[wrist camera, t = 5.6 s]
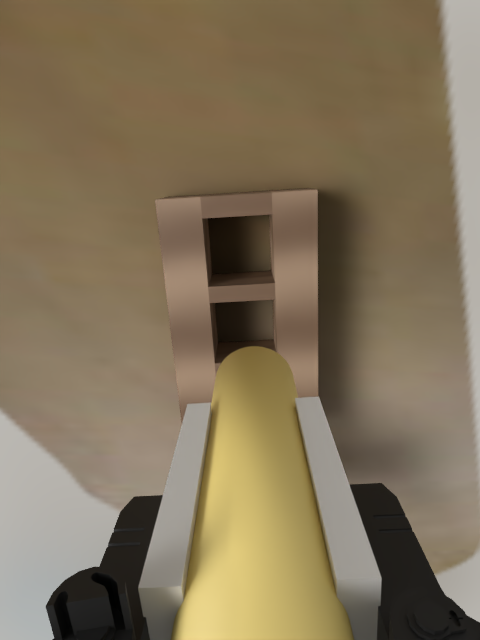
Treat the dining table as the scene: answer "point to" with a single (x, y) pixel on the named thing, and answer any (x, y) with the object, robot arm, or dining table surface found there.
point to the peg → (258, 518)
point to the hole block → (240, 285)
